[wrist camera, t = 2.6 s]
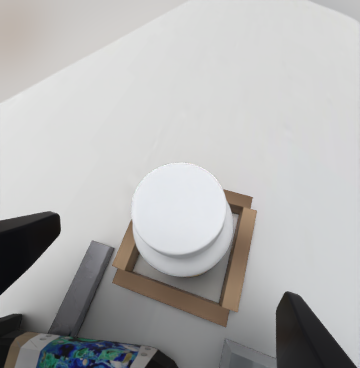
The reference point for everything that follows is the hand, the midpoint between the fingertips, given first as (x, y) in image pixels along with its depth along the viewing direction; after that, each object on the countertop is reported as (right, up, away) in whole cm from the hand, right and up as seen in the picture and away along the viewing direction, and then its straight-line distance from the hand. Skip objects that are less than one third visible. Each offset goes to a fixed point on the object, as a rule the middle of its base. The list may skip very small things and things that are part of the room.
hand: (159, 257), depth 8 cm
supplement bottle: (+1, -2, +10) cm, 10 cm away
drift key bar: (-7, -6, +8) cm, 12 cm away
